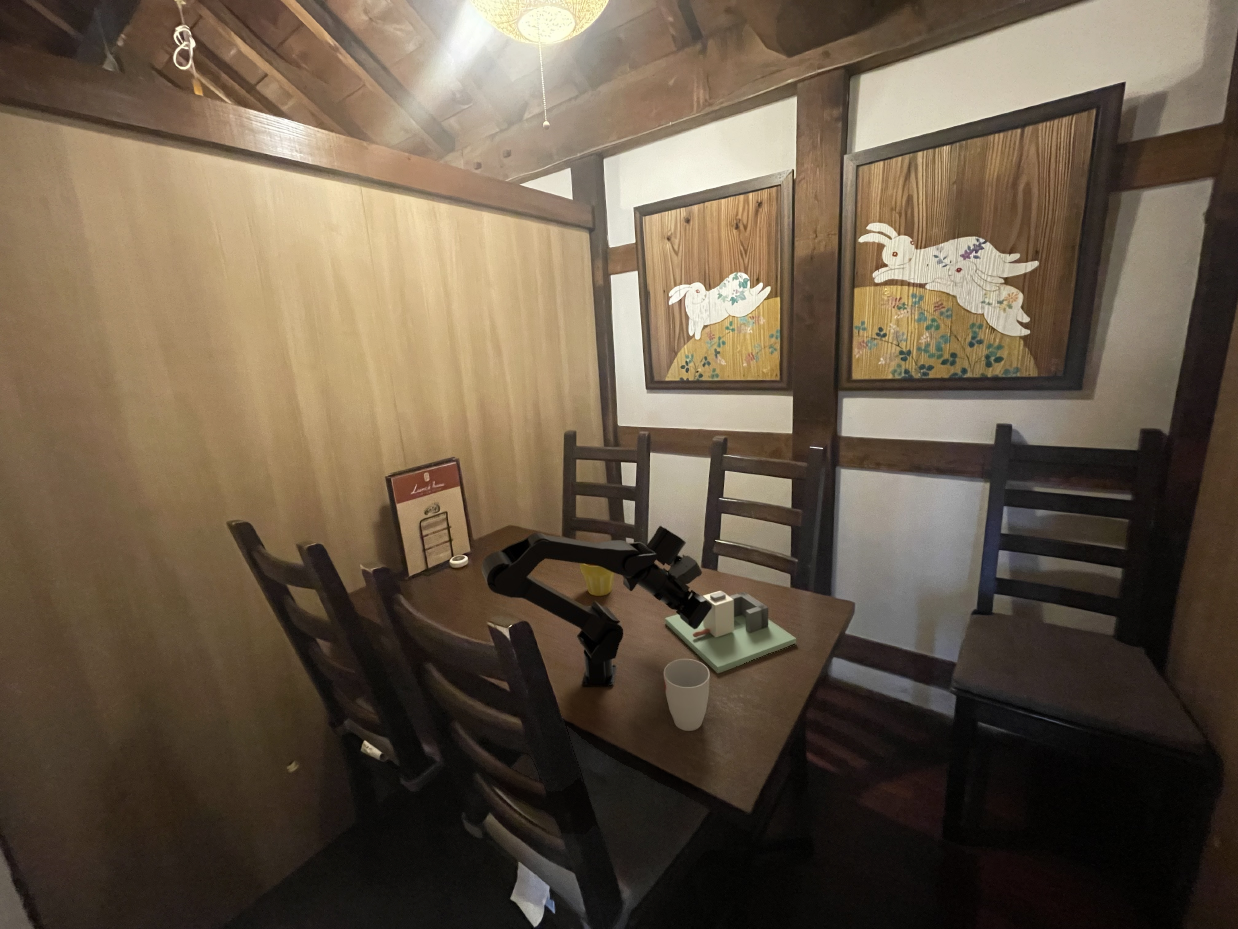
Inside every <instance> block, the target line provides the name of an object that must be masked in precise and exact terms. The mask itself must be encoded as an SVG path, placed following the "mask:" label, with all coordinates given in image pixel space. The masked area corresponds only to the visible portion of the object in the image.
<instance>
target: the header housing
mask: <svg viewBox="0 0 1238 929" xmlns="http://www.w3.org/2000/svg"><path fill="white" fill-rule="evenodd" d="M728 596H729V597H731V598H732V599H733V600H734V617H737V616H740V615H742V616H744V617H745V618H746V631H748V632H749V633H752V632H755V631H758V630H761V629H764V628H767V627H768V619H769V607H768V606H767V605H765V604H764V603H762V602H761V601H759V600H758V599H756V598H755V597H754V596H752V595H750V594H749V593H747V592H746V591H742V592H739V593H735V594H732V595H728Z"/></svg>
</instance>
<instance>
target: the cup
mask: <svg viewBox="0 0 1238 929" xmlns="http://www.w3.org/2000/svg"><path fill="white" fill-rule="evenodd" d="M663 680H664V689H665V696H666V700H667V701H666V702H667V703H668V709H669V712H670V715H671V717H672V720H673V722H674V725H675V726H676V727H677V728H678V729H680V730H683V731H685V732H687V731H688V732H690V731H691V732H692V731H696V730H697V729H699V728H701V726H702V724H703V721H704V717H705V715H706V713H707V706H708V702H709V697H710V696H709V695H710V670H709V668H708V666H706V665H705V664H704V663H703V662H701V661H699V660H696V659H690V658H679V659H675V660H673V661H671V662H669V663H668V664H667V665H666V666H665V667H664V669H663Z"/></svg>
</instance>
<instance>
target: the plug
mask: <svg viewBox="0 0 1238 929" xmlns="http://www.w3.org/2000/svg"><path fill="white" fill-rule="evenodd" d="M729 596H730V595H728V594H727V593H725V592H724V591H722V590H718V591H715V592H711V593H708V594H704V595H702V597H703V598H704V599H705V600H707V601H708V602H709V603H711V604H712V608H711V610H710V611H709V613H708V614H707V615H706V617H705V618H704V620H703V627H704V628H705V629H704V630H701V631H698V632H695V633H693V637H698V636H701V635H704V634H707V633H709V632H710V633H711V634H712V635H713V636H715V637H719V636H722V635H725V634H728V633H731V632H733V631H734V600H733V599H732V598H731V597H729Z"/></svg>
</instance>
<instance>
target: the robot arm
mask: <svg viewBox="0 0 1238 929" xmlns="http://www.w3.org/2000/svg"><path fill="white" fill-rule="evenodd" d="M686 543H687V542H686V541H685V540H684V539H682V538H681V537H680V536H678V535H676V534H675V533H673V532H672V531H670V530H669V529H667V527H664V526H663V525H659V526H658V527H657V529H656V531H655V532H654V535H653V536H652V537H651V539H650V540H649V541H648V543H647V544H646V545H645V543H642V541H636V542H635V541H634V542H627V541H625V540H620V539H619V540H605V541H602V542H592V541H588V540H587V541H586V540H579V539H575V538H574V539H573V538H569V537H560V536H554V535H548V534H544V533H542V532H534V533H532V534H530V535H528V536H526V537H525V538H524V539H521V540H518V541H517V542H513V543H511V544H509V545H506V547H504V548H502V549H501V550H498V551H497V550H496V552H495V551H494V552H492V553H490V554H488V555H487V556H486V557H485V558H484V559H483V561H482V563H481V572H482V575H483V578H484V580H485V582H486V585H487V588H489V590H490V591H491V592H493V593H494V594H497V595H500V596H504V597H507V598H510V599H523V600H526V601H528V602H529V603H531V604H534V605H535V606H537V607H539V608H541V609H542V610H544V611H547V612H548V613H551V615H552V614H553V615H554V616H556V617H558V618H559V619H562V620H563V621H565V622H568V623H570V624H571V625H573V626H575V627H577V628H579V629H580V631H579V633H578V634H577V636H576V639H577V640H578V642H579V643H580V645H581V646H582V647H583V658H584V660H583V661H584V673H583V677H582V681H581V686H582V687H613V686H614V684H615V683H614V682H615V678H616V672H617V665H615V664H613V660H614V659H616V657H617V655H618V651H619V646H620V644H621V642H622V640H623V637H624V629H623V626H621V624H620V622H621V621H620V620H619V619H618V617H617V616H615V614H614V613H613V612H612V611H611V609H610V608H609V607H608V606H603V605H600V603H599V602H597V601H596V600H593V602H592V604H591V605H584V604H582V603H580V602H578V601H576V600H575V599H573V598H571V597H569V596H568V595H566V594H564V593H562V592H560V591H559V590H557V589H555V588H553V587H551V586H550V585H548V584H546V583H544V582H543V581H541V580H540V579H537V578H535V577H534V576H532V575H531V573H532V572H533V571H534V570H535V568H537V566H538V565H539V564H540V563H541V562H542V561H544V560H545V559H547V560H552V561H553V560H554V561H561V562H568V563H575V564H580V563H582V564H589V565H596V566H600V567H603V568H605V569H607V570H609V571H611V572H613V573H614V574H617V575H618V576H619V575H620V576H622V578H623V580H622V584H623V586H624V587H626V589H628V590H629V591H630V592H632V591H633V590H634V589H635V588H636V586H637V585H638V586H639V587H640V588H642V589H643V590H645V591H646V592H648V593H649V594H650V595H652V596H653V597H654V598H655V599H656V600H658V601H659V602H662V603H664V604H665V606H667V607H668V608H670V610H674V611H675V614H676V615H677V614H678V615H680V618H681V619H682V620H683V621H684V622H685V623H687V624H688V625H689V626H690V627H692V628H693V629H697V628H698V627H699V626H700V624H701V623H702V621H703V620H704V618H705V617H706V615H707V614H708V613H709V611H710V610H711V608H712V604H711V603H709V602H708V601H707V600H705V599H704V598H703V596H702V595H701V594H699V593H697V592H696V591H694V590H693V589H691V590H690V586H689V584H690V583H692V582H693V581H694V580H695V579H697V578H699V577H700V576H702V574H703V571H702V569H701V567H700V565H699V564H698V561H697V560H696V559H694V558H693V557H691V556H690V555H685V554H682V555H679V554H680V552H681V551H682V549H683V548H684V547H685V545H686ZM656 561H657V562H658V563H659V564H662V566H665V565H667V566H669V569H666V568H665V567H663V568H662V567H661V566H659V565H658V564H657V563H656Z"/></svg>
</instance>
